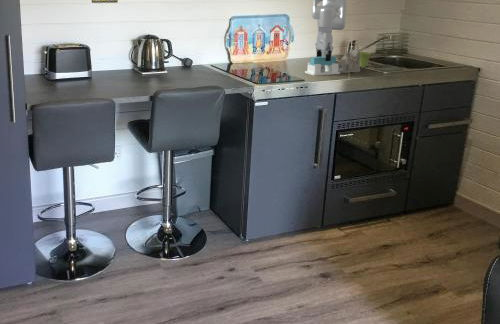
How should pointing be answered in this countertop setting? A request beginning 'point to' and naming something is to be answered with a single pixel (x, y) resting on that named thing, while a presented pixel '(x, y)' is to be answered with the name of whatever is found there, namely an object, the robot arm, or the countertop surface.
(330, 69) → the display cradle
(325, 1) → the robot arm
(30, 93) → the countertop surface
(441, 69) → the countertop surface
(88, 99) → the countertop surface
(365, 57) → the plant pot
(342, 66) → the grey irregular blocky piece
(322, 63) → the teal rectangular stick
